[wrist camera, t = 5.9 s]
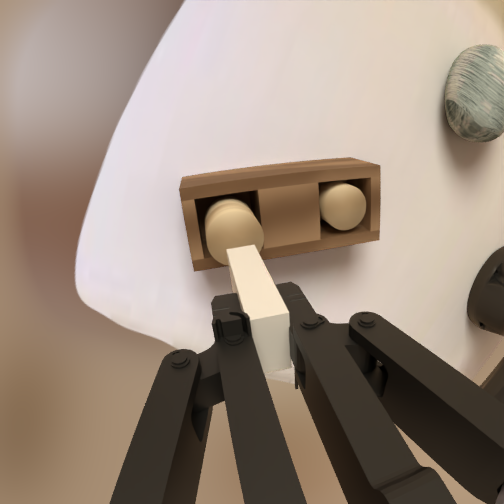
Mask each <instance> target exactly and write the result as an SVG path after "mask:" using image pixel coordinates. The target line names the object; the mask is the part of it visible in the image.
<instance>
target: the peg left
mask: <svg viewBox="0 0 504 504" xmlns="http://www.w3.org/2000/svg"><path fill="white" fill-rule="evenodd" d="M204 221H205V231H206V241H207V247H208V250H209V252H210V254H211V255H212V256H213V258H214V259H215V260H217V261H218V262H220V263H222V264H224V265H228V266H229V264H228V257H227V251H226V249H231V248H237V247H243V246H249V245H255V247H256V249H257V251H258V253H260V251H261V249H262V246H263V243H264V233H263V229H262V227H261V225H260V223H259V222H258V220H257V219H256V217H255V216H254V214H253V213H252V211H251V210H250V208H249V207H248V205H247V204H246V203H245V202H244V201H243V200H241V199H239V198H237V197H233V196H225V197H221V198H219V199H217V200H215V201H214V202H212V203H211V204H210V206H209V207H208V209H207V211H206V213H205V219H204Z"/></svg>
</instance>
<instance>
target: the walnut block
mask: <svg viewBox="0 0 504 504" xmlns="http://www.w3.org/2000/svg"><path fill="white" fill-rule="evenodd" d="M337 180H340V181H342V182H345V183H347V184H349V185H352V186H354V187H356V188H358V189H359V190H360V191H361V192H362V193H363V195H364V197H365V200H366V212H365V215H364V217H363V219H362V220H361V222H360V223H359V224H358V225H357V226H355V227H354V228H352V229H349V230H338V229H336V228H334V227H333V226H331V225H330V224H329V223H327V222H326V221H325V220H324V219H322V218H321V217H320V209H319V187H318V182H327V181H337ZM179 191H180V197H181V203H182V209H183V214H184V220H185V226H186V231H187V237H188V242H189V247H190V253H191V258H192V263H193V268H194V271H200V270H206V269H212V268H218V267H224V266H228V265H224V264H222V263H220V262H218V261H217V260H215V259H214V258H213V256H212V255H211V254H210V252H209V250H208V247H207V241H206V231H205V221H204V219H205V213H206V211H207V209H208V207H209V206H210V204H211V203H212V202H214V201H215V200H217V199H219V198H221V197H225V196H233V197H237V198H239V199H241V200H243V201H244V202H245V203H246V204H247V205H248V207H249V208H250V210H251V211H252V213H253V214H254V216H255V217H256V219H257V220H258V222H259V223H260V225H261V227H262V229H263V233H264V243H263V246H262V249H261V251H260V253H259V255H260V257H261V258H262V260H266V259H272V258H278V257H284V256H290V255H296V254H302V253H307V252H313V251H319V250H325V249H331V248H336V247H342V246H348V245H354V244H359V243H365V242H371V241H376V240H379V233H380V165H377V164H373V163H369V162H366V161H362V160H358V159H354V158H336V159H323V160H311V161H300V162H290V163H281V164H272V165H263V166H255V167H247V168H239V169H232V170H225V171H218V172H211V173H204V174H198V175H192V176H186V177H182V180H181V184H180V188H179Z"/></svg>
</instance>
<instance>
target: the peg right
mask: <svg viewBox="0 0 504 504" xmlns="http://www.w3.org/2000/svg"><path fill="white" fill-rule="evenodd" d="M318 187H319V209H320V217H321V218H322V219H324V220H325V221H326V222H327V223H329V224H330V225H331V226H333V227H334V228H336V229H338V230H349V229H352V228H354V227H355V226H357V225H358V224H359V223H360V222H361V220H362V219H363V217H364V215H365V212H366V200H365V197H364V195H363V193H362V192H361V191H360V190H359V189H358V188H356V187H354V186H352V185H349V184H347V183H345V182H342V181H340V180H337V181H327V182H318Z"/></svg>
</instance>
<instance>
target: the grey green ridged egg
mask: <svg viewBox="0 0 504 504" xmlns="http://www.w3.org/2000/svg"><path fill="white" fill-rule="evenodd" d="M445 110H446V117H447V120H448V123H449V125H450V126H451V128H452V129H453V131H454V132H455V133H456V134H457V135H459V136H460V137H461V138H463V139H465V140H468V141H471V142H487V141H491V140H493V139H496V138H497V137H499V136H500V135H501V134H502V133H503V132H504V51H503V50H502V49H500V48H498V47H496V46H493V45H476V46H473V47H470V48H468V49H466V50H465V51H463V52H461V54H460V55H459V56H458V57H457V58H456V59H455V61H454V62H453V64H452V67H451V69H450V72H449V76H448V80H447V84H446V89H445Z"/></svg>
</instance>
